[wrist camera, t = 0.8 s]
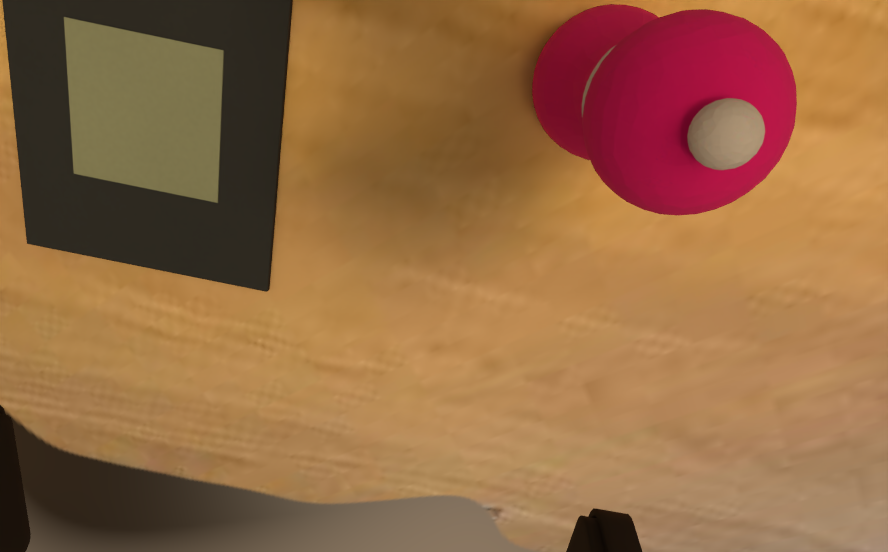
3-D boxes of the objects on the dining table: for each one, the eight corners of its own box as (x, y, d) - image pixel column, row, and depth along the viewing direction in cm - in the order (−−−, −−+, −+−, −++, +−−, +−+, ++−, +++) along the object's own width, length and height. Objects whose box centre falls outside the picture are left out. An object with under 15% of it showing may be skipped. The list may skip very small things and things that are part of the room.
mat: (-4, -109, 30) (-11, -112, 30) (296, -45, 31) (293, -46, 30) (31, 241, 38) (25, 244, 38) (269, 289, 39) (266, 292, 38)
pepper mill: (551, 163, 34) (635, 316, 16) (507, 43, 32) (545, 57, 13) (672, 113, 33) (921, 218, 14) (635, -17, 30) (877, -92, 12)
